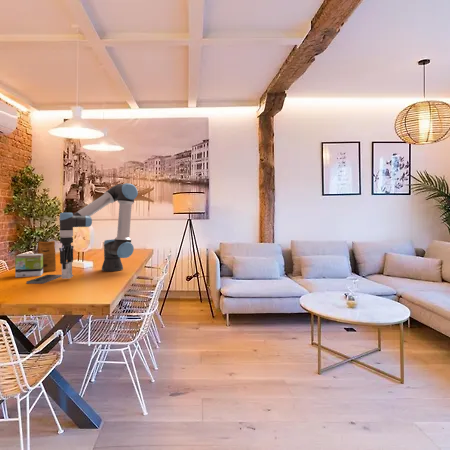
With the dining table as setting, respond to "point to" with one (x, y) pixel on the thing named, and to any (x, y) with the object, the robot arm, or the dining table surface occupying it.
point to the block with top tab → (68, 271)
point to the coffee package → (48, 255)
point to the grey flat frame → (43, 279)
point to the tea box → (28, 265)
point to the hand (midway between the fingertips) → (66, 273)
